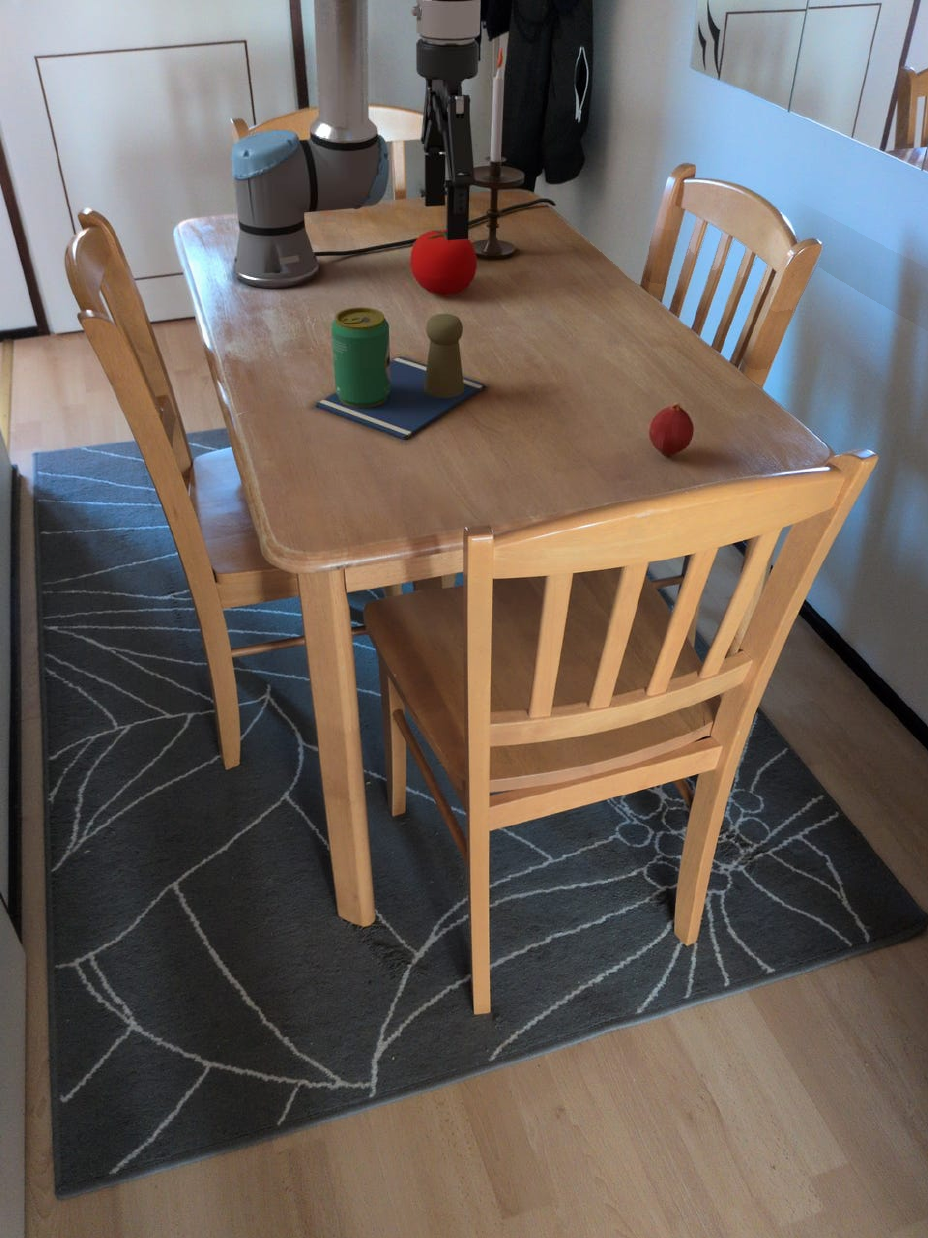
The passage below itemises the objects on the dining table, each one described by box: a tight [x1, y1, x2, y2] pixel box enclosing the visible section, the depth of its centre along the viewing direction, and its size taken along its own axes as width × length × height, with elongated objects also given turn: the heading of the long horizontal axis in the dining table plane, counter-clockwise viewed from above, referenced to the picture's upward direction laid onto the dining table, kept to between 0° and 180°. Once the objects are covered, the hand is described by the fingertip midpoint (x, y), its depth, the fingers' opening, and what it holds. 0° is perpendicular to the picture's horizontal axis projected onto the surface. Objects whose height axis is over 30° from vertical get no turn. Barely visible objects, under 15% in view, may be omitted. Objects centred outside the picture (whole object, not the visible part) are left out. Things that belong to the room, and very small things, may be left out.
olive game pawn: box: [424, 313, 464, 398], centre depth 144 cm, size 6×6×11 cm
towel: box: [315, 355, 486, 441], centre depth 146 cm, size 20×16×1 cm
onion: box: [648, 401, 695, 458], centre depth 132 cm, size 6×6×8 cm
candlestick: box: [471, 47, 525, 261], centre depth 183 cm, size 11×11×35 cm
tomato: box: [409, 229, 478, 296], centre depth 175 cm, size 12×12×10 cm
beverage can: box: [330, 306, 391, 408], centre depth 141 cm, size 8×8×12 cm
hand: (445, 221), depth 132 cm, fingers open, 13 cm apart
